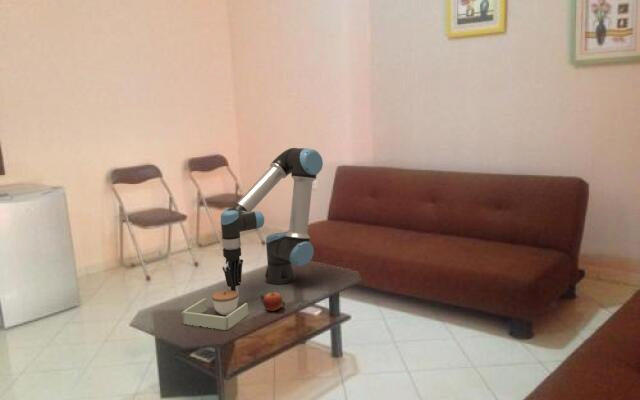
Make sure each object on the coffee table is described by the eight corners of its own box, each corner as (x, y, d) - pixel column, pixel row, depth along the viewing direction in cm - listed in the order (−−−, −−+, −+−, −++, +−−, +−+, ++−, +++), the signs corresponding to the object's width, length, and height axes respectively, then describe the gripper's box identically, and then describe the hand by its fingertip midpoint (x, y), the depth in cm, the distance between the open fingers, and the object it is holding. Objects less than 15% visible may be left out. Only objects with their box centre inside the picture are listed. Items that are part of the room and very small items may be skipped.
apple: (286, 309, 222) (285, 291, 221) (270, 314, 218) (269, 296, 216) (276, 304, 229) (275, 286, 227) (260, 309, 224) (259, 291, 223)
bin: (205, 309, 227) (204, 298, 226) (248, 314, 219) (247, 303, 218) (182, 324, 213) (181, 312, 212) (227, 330, 205) (226, 318, 204)
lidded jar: (234, 317, 217) (232, 295, 215) (209, 316, 219) (207, 295, 217) (242, 307, 227) (241, 286, 225) (219, 307, 229) (217, 286, 227)
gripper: (232, 243, 233) (236, 294, 237) (215, 250, 221) (219, 304, 226) (247, 244, 230) (250, 296, 234) (231, 252, 219) (234, 306, 223)
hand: (235, 300), depth 230 cm, fingers closed
